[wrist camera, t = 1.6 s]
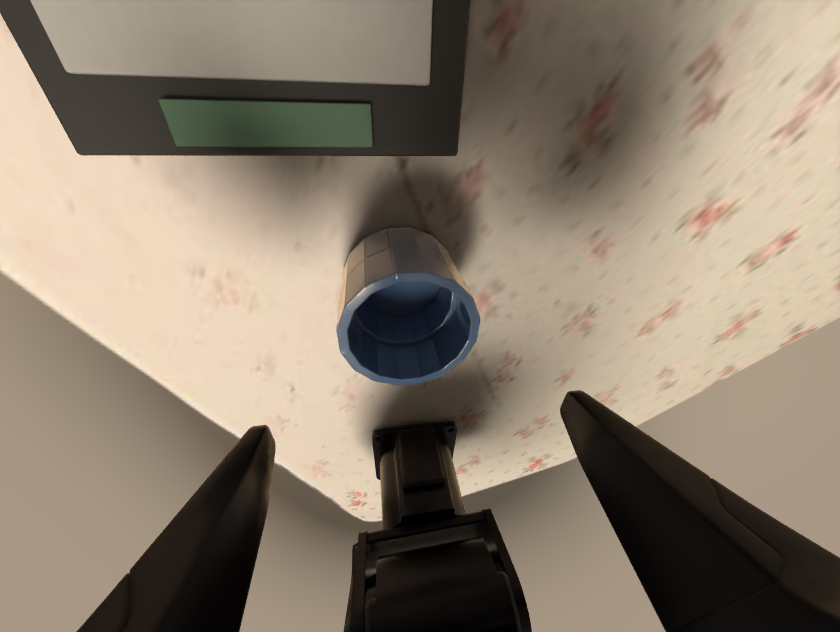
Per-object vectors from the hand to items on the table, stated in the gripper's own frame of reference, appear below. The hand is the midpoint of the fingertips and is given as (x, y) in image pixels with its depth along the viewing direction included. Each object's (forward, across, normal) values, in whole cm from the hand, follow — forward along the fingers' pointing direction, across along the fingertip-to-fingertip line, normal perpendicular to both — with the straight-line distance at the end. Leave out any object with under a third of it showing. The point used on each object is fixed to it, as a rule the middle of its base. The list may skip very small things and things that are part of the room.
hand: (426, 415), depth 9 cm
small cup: (+9, 0, 0) cm, 9 cm away
